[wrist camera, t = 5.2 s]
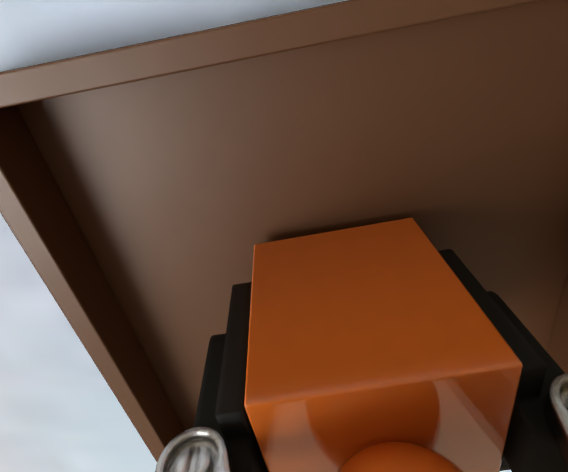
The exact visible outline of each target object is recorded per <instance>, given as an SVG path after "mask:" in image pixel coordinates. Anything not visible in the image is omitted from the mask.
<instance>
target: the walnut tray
mask: <svg viewBox="0 0 568 472" xmlns="http://www.w3.org/2000/svg"><path fill="white" fill-rule="evenodd" d="M0 213H1V214H2V216H3V218H4V219H5V221H6V222H7V224H8V226H9V227H10V229H11V230H12V232H13V233H14V235H15V237H16V238H17V240H18V241H19V243H20V245H21V246H22V248H23V249H24V251H25V253H26V254H27V256H28V257H29V259H30V261H31V262H32V264H33V265H34V267H35V269H36V270H37V272H38V273H39V275H40V277H41V278H42V280H43V281H44V283H45V284H46V286H47V288H48V289H49V291H50V292H51V294H52V296H53V297H54V299H55V300H56V302H57V304H58V305H59V307H60V308H61V310H62V312H63V313H64V315H65V316H66V318H67V320H68V321H69V323H70V324H71V326H72V328H73V329H74V331H75V332H76V334H77V336H78V337H79V339H80V340H81V342H82V343H83V345H84V347H85V348H86V350H87V351H88V353H89V355H90V356H91V358H92V359H93V361H94V363H95V364H96V366H97V367H98V369H99V371H100V372H101V374H102V375H103V377H104V379H105V380H106V382H107V383H108V385H109V387H110V388H111V390H112V391H113V393H114V394H115V396H116V398H117V399H118V401H119V402H120V404H121V406H122V407H123V409H124V410H125V412H126V414H127V415H128V417H129V418H130V420H131V422H132V423H133V425H134V426H135V428H136V430H137V431H138V433H139V434H140V436H141V438H142V439H143V441H144V442H145V444H146V446H147V447H148V449H149V450H150V452H151V453H152V455H153V457H154V458H155V460H156V461H157V462H158V460H159V457H160V455H161V453H162V451H163V450H164V449H165V447H166V446H167V445H168V444H169V442H170V441H171V440H173V439H174V438H175V437H176V436H177V435H179V434H180V433H182V432H184V431H186V430H188V429H191V428H193V427H194V422H195V416H196V411H197V406H198V400H199V395H200V389H201V384H202V378H203V373H204V368H205V362H206V357H207V351H208V346H209V341H210V338H211V336H212V335H218V334H224V333H226V329H227V321H228V314H229V307H230V299H231V292H232V286H233V285H235V284H241V283H247V282H252V269H253V253H254V245H255V244H260V243H266V242H271V241H277V240H283V239H289V238H295V237H300V236H306V235H312V234H318V233H324V232H329V231H335V230H341V229H347V228H353V227H358V226H364V225H370V224H376V223H382V222H387V221H393V220H399V219H405V218H413V219H414V220H415V221H416V223H417V224H418V225H419V227H420V228H421V229H422V231H423V232H424V233H425V235H426V236H427V237H428V239H429V240H430V241H431V243H432V244H433V245H434V247H435V248H436V249H437V251H439V250H445V249H452V250H453V251H454V252H455V254H456V255H457V256H458V257H459V259H460V260H461V261H462V262H463V263H464V265H465V266H466V267H467V268H468V269H469V271H470V272H471V273H472V274H473V276H474V277H475V278H476V279H477V280H478V282H479V283H480V284H481V285H482V287H483V288H484V289H485V290H486V291H493V292H495V293H496V294H497V295H499V296H500V298H501V299H502V300H503V301H504V302H505V303H506V305H507V306H508V307H509V308H510V309H511V310H512V312H513V313H514V314H515V315H516V316H517V317H518V319H519V320H520V321H521V322H522V323H523V324H524V326H525V327H526V328H527V329H528V330H529V331H530V333H531V334H532V335H533V336H534V337H535V339H536V340H537V341H538V342H539V343H540V344H541V346H542V347H543V348H544V349H545V350H546V351H547V353H548V354H549V355H550V356H551V357H552V358H553V360H554V361H555V362H556V363H557V364H558V365H559V367H560V368H561V369H562V370H563V371H564V372H565V373H568V0H348V1H343V2H338V3H333V4H328V5H323V6H319V7H314V8H309V9H304V10H299V11H294V12H290V13H285V14H280V15H275V16H270V17H265V18H260V19H256V20H251V21H246V22H241V23H236V24H231V25H227V26H222V27H217V28H212V29H207V30H202V31H198V32H193V33H188V34H183V35H178V36H173V37H168V38H164V39H159V40H154V41H149V42H144V43H139V44H135V45H130V46H125V47H120V48H115V49H110V50H105V51H101V52H96V53H91V54H86V55H81V56H76V57H72V58H67V59H62V60H57V61H52V62H47V63H43V64H38V65H33V66H28V67H23V68H18V69H13V70H9V71H4V72H0Z"/></svg>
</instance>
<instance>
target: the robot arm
mask: <svg viewBox="0 0 568 472" xmlns="http://www.w3.org/2000/svg"><path fill="white" fill-rule="evenodd" d="M438 252H439V253H440V255H441V256H442V257H443V259H444V260H445V261H446V263H447V264H448V265H449V267H450V268H451V269H452V271H453V272H454V273H455V275H456V276H457V277H458V279H459V280H460V281H461V283H462V284H463V285H464V287H465V288H466V289H467V291H468V292H469V293H470V294H471V296H472V297H473V298H474V300H475V301H476V302H477V304H478V305H479V306H480V308H481V309H482V310H483V312H484V313H485V314H486V316H487V317H488V318H489V320H490V321H491V322H492V324H493V325H494V326H495V328H496V329H497V330H498V332H499V333H500V334H501V336H502V337H503V338H504V340H505V341H506V342H507V344H508V345H509V346H510V348H511V349H512V350H513V352H514V353H515V354H516V356H517V357H518V358H519V360H520V361H521V362H522V365H523V368H522V373H521V377H520V382H519V386H518V391H517V395H516V400H515V404H514V409H513V413H512V418H511V422H510V427H509V431H508V435H507V440H506V444H505V449H504V453H503V458H502V462H501V467H500V471H502V470H510V469H511V471H512V472H568V373H565V372H564V371H563V370H562V369H561V368H560V367H559V365H558V364H557V363H556V362H555V361H554V360H553V358H552V357H551V356H550V355H549V354H548V353H547V351H546V350H545V349H544V348H543V347H542V346H541V344H540V343H539V342H538V341H537V340H536V339H535V337H534V336H533V335H532V334H531V333H530V331H529V330H528V329H527V328H526V327H525V326H524V324H523V323H522V322H521V321H520V320H519V319H518V317H517V316H516V315H515V314H514V313H513V312H512V310H511V309H510V308H509V307H508V306H507V305H506V303H505V302H504V301H503V300H502V299H501V298H500V296H499V295H497V294H496V293H495V292H493V291H486V290H485V289H484V288H483V287H482V285H481V284H480V283H479V282H478V280H477V279H476V278H475V277H474V276H473V274H472V273H471V272H470V271H469V269H468V268H467V267H466V266H465V265H464V263H463V262H462V261H461V260H460V259H459V257H458V256H457V255H456V254H455V252H454V251H453V250H452V249H445V250H439V251H438ZM251 285H252V282H247V283H241V284H235V285H233V286H232V292H231V299H230V307H229V314H228V321H227V329H226V333H224V334H218V335H212V336H211V338H210V341H209V346H208V351H207V357H206V362H205V368H204V373H203V378H202V384H201V389H200V395H199V400H198V406H197V411H196V416H195V422H194V427H193V428H191V429H188V430H186V431H184V432H182V433H180V434H179V435H177V436H176V437H175V438H174V439H173V440H171V441H170V442H169V444H168V445H167V446H166V447H165V449H164V450H163V451H162V453H161V455H160V457H159V460H158V462H157V465H156V470H155V472H268V469H267V466H266V464H265V461H264V458H263V456H262V453H261V450H260V447H259V445H258V442H257V439H256V437H255V434H254V431H253V428H252V426H251V423H250V420H249V418H248V415H247V412H246V410H245V407H244V396H245V381H246V365H247V349H248V333H249V317H250V301H251Z"/></svg>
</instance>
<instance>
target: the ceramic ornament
mask: <svg viewBox="0 0 568 472" xmlns="http://www.w3.org/2000/svg"><path fill="white" fill-rule="evenodd" d="M522 368H523V365H522V362H521V361H520V360H519V358H518V357H517V356H516V354H515V353H514V352H513V350H512V349H511V348H510V346H509V345H508V344H507V342H506V341H505V340H504V338H503V337H502V336H501V334H500V333H499V332H498V330H497V329H496V328H495V326H494V325H493V324H492V322H491V321H490V320H489V318H488V317H487V316H486V314H485V313H484V312H483V310H482V309H481V308H480V306H479V305H478V304H477V302H476V301H475V300H474V298H473V297H472V296H471V294H470V293H469V292H468V291H467V289H466V288H465V287H464V285H463V284H462V283H461V281H460V280H459V279H458V277H457V276H456V275H455V273H454V272H453V271H452V269H451V268H450V267H449V265H448V264H447V263H446V261H445V260H444V259H443V257H442V256H441V255H440V253H439V252H438V251H437V249H436V248H435V247H434V245H433V244H432V243H431V241H430V240H429V239H428V237H427V236H426V235H425V233H424V232H423V231H422V229H421V228H420V227H419V225H418V224H417V223H416V221H415V220H414V219H413V218H405V219H399V220H393V221H387V222H382V223H376V224H370V225H364V226H358V227H353V228H347V229H341V230H335V231H329V232H324V233H318V234H312V235H306V236H300V237H295V238H289V239H283V240H277V241H271V242H266V243H260V244H255V245H254V253H253V269H252V285H251V301H250V317H249V333H248V349H247V365H246V381H245V396H244V407H245V410H246V412H247V415H248V418H249V420H250V423H251V426H252V428H253V431H254V434H255V437H256V439H257V442H258V445H259V447H260V450H261V453H262V456H263V458H264V461H265V464H266V466H267V469H268V472H499V471H500V467H501V462H502V458H503V453H504V449H505V444H506V440H507V435H508V431H509V427H510V422H511V418H512V413H513V409H514V404H515V400H516V395H517V391H518V386H519V382H520V377H521V373H522Z"/></svg>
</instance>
